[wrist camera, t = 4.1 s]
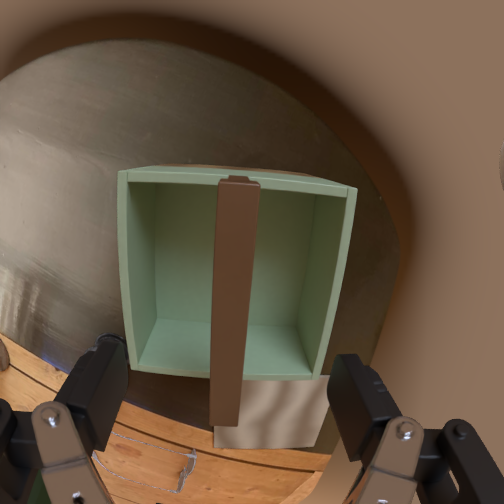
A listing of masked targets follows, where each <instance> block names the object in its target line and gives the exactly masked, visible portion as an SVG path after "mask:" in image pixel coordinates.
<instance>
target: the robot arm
mask: <svg viewBox="0 0 504 504" xmlns="http://www.w3.org/2000/svg"><path fill="white" fill-rule="evenodd" d="M127 387H128V370H127V364H126V358H125V352H124V346H123V344H122V343H121V342H115V341H108V340H102V341H101V343H100V344H99V346H98V348H97V349H96V351H88V352H87V353H85V354H84V355H83V356H81V357H80V358H79V360H78V361H77V363H76V364H75V366H74V368H73V369H72V371H71V372H70V375H69V376H68V377H67V379H66V380H65V382H64V384H63V385H62V387H61V389H60V390H59V392H58V394H57V395H56V397H55V399H54V400H53V401H48V402H44V403H42V404H40V405H38V406H37V407H36V408H35V409H34V411H33V412H23V411H13V410H12V408H11V406H10V405H9V403H8V402H7V401H5V400H4V399H1V398H0V459H1V460H0V504H27V502H28V499H29V496H30V493H31V490H32V487H33V484H34V481H35V478H36V475H37V473H38V470H39V469H41V474H42V478H43V481H44V484H45V487H46V489H47V492H48V495H49V498H50V500H51V503H52V504H115V502H114V501H113V499H112V497H111V495H110V494H109V492H108V490H107V488H106V486H105V484H104V483H103V481H102V479H101V477H100V475H99V473H98V471H97V469H96V467H95V465H94V462H93V460H92V458H91V456H92V453H93V451H94V450H98V451H102V452H104V451H105V448H106V445H107V442H108V439H109V436H110V433H111V431H112V428H113V425H114V422H115V419H116V417H117V414H118V411H119V409H120V406H121V403H122V400H123V398H124V395H125V393H126V390H127ZM327 399H328V402H329V405H330V407H331V410H332V413H333V416H334V418H335V421H336V424H337V427H338V430H339V432H340V435H341V438H342V441H343V443H344V446H345V449H346V452H347V454H348V458H349V460H350V462H353V461H358V460H361V462H362V464H363V465H362V467H361V469H360V470H359V473H358V475H357V477H356V479H355V481H354V482H353V485H352V486H351V488H350V490H349V492H348V494H347V496H346V498H345V499H344V501H343V503H342V504H411V503H412V500H413V497H414V493H415V490H416V492H417V495H418V497H419V500H420V503H421V504H504V477H503V475H502V474H501V472H500V470H499V468H498V467H497V465H496V463H495V462H494V460H493V458H492V457H491V455H490V453H489V452H488V451H487V448H486V447H485V445H484V444H483V442H482V440H481V439H480V437H479V436H478V434H477V432H476V431H475V429H474V428H473V427H472V426H471V424H469V423H468V422H466V421H464V420H461V419H452V420H450V421H448V422H447V423H446V424H445V426H444V427H443V429H423V428H422V426H421V425H420V424H419V423H418V422H417V421H416V420H414V419H412V418H410V417H404V416H403V415H402V414H401V412H400V410H399V408H398V407H397V405H396V403H395V402H394V400H393V398H392V397H391V395H390V393H389V391H387V388H386V386H385V385H384V384H383V381H382V380H381V378H380V376H379V375H378V373H377V372H376V371H374V370H373V369H372V368H371V367H369V366H364V365H363V363H362V362H361V360H360V358H359V357H358V355H357V354H338V355H337V356H336V357H335V360H334V363H333V367H332V370H331V374H330V377H329V380H328V383H327ZM2 455H3V456H2ZM1 457H2V458H1ZM450 470H451V471H452V473H453V475H454V477H455V479H456V481H457V483H458V485H459V493H458V491H457V489H456V487H455V484H454V482H453V480H452V478H451V476H450V474H449V471H450ZM156 504H161V503H156Z"/></svg>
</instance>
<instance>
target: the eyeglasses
mask: <svg viewBox="0 0 504 504" xmlns="http://www.w3.org/2000/svg"><path fill="white" fill-rule="evenodd" d="M111 433H113V434H115V435H117V436H119V437H122V438H126V439H129V440H133V439H131V438H127V437H124V436H121V435H118V434H116V433H114V432H112V431H111ZM134 441H136V440H134ZM137 442H140V441H137ZM141 443H143V442H141ZM144 444H147V443H144ZM147 445H150V444H147ZM151 446H154V445H151ZM154 447H157V446H154ZM158 448H161V447H158ZM161 449H164V448H161ZM165 450H168V449H165ZM168 451H171V450H168ZM172 452H175V451H172ZM176 453H179V452H176ZM179 454H182V453H179ZM183 455H186V456H187V457H189V460H188V465H187V470H186V468H185V465H184V469H183V470H182V472H181V474H180V477H179V482H178V488H177V490H176V491H175V490H168V491H170V492H172V493H180V492H181V490H182V489H183V486H184V483H185V479H186V478H187V475H190V474H191V473H192V471H193V469H194V467H195V464H196V458H197V456H196V450H195V449H193V450H192V452H191V454H183ZM92 456H93V458H94V459H95V460H96V461H97V462H98V463H99V464H100V465H101V466H102V467H104V466H103V465H102V463H101V462H100V461H99V460H98V458H97V455H96V453H95V451H93V453H92ZM104 468H105V469H106V470H107V471H109V470H108V469H107V468H106V467H104ZM185 471H187V473H186V474H185ZM109 472H110V473H112V474H114V473H113V472H111V471H109ZM114 475H116V474H114ZM116 476H118V477H121V476H119V475H116ZM121 478H124V477H121ZM124 479H126V478H124ZM127 480H129V479H127ZM130 481H132V480H130ZM133 482H135V481H133ZM137 483H139V482H137ZM140 484H142V483H140ZM143 485H145V484H143ZM147 486H149V485H147ZM151 487H153V486H151ZM155 488H157V487H155ZM159 489H161V488H159ZM163 490H166V489H163Z"/></svg>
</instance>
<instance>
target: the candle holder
mask: <svg viewBox="0 0 504 504" xmlns="http://www.w3.org/2000/svg"><path fill="white" fill-rule="evenodd" d="M8 365H9V356H8V353H7V350H6V348H5V346H4V344H3V343H2V341H1V340H0V371H4V370H5V369H6V368H7V367H8Z"/></svg>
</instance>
